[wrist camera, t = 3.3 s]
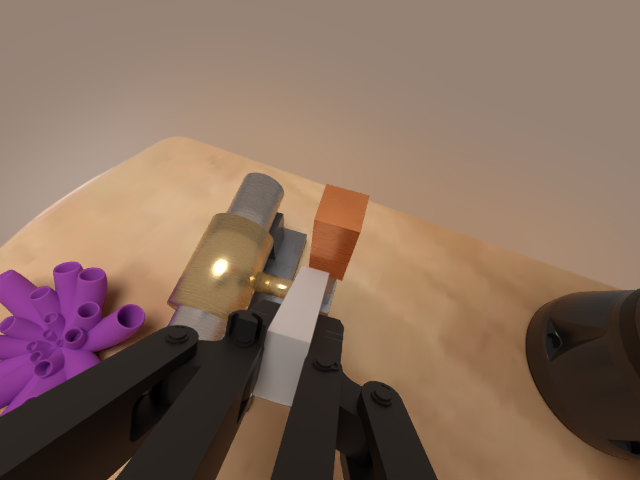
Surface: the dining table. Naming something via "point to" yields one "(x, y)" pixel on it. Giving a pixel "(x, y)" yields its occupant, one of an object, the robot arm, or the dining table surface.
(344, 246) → the lever
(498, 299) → the dining table surface
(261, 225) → the valve stand
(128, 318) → the purple tube coral
